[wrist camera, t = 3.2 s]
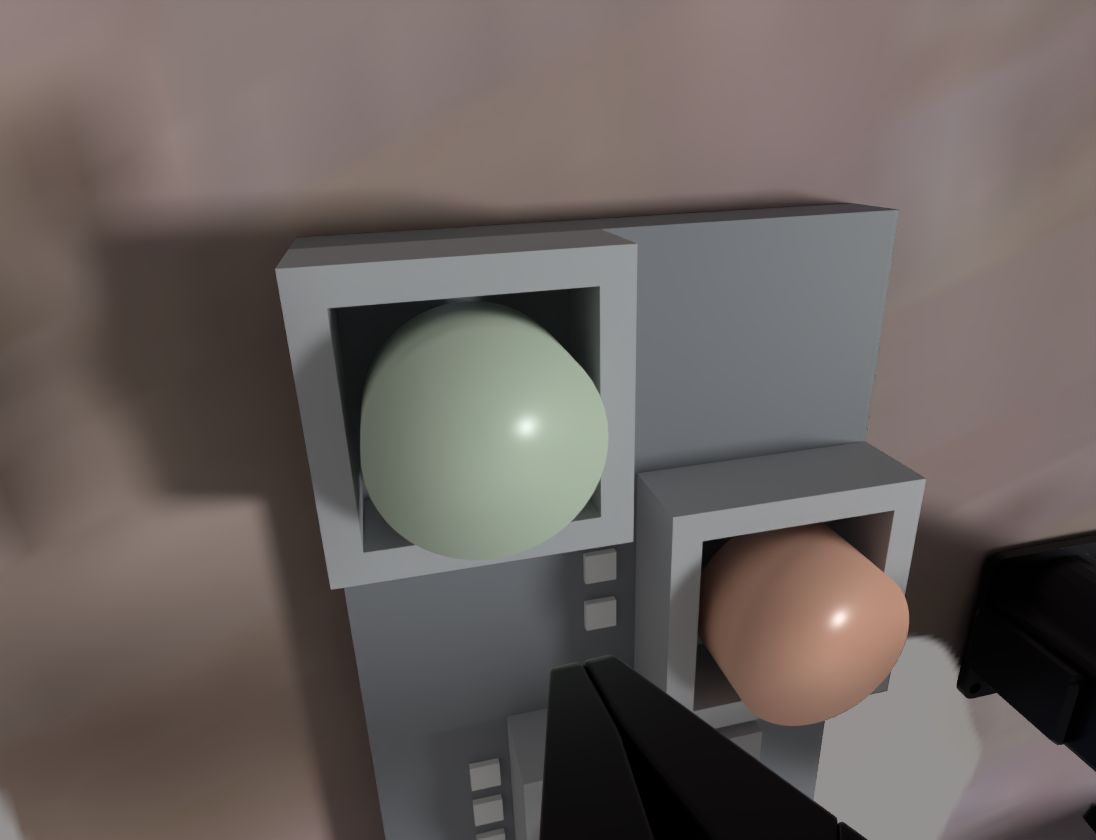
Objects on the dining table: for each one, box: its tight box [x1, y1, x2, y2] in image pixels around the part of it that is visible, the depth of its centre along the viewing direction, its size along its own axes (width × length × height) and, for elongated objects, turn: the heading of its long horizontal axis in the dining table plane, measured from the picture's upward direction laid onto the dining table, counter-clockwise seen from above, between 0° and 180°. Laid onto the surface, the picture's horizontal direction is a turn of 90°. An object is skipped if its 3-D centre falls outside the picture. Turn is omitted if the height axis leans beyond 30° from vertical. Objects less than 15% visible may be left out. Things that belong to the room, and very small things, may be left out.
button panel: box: [275, 203, 926, 840], centre depth 21 cm, size 15×21×4 cm
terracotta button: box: [697, 522, 909, 726], centre depth 19 cm, size 5×5×2 cm
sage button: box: [360, 301, 609, 560], centre depth 15 cm, size 5×5×2 cm
